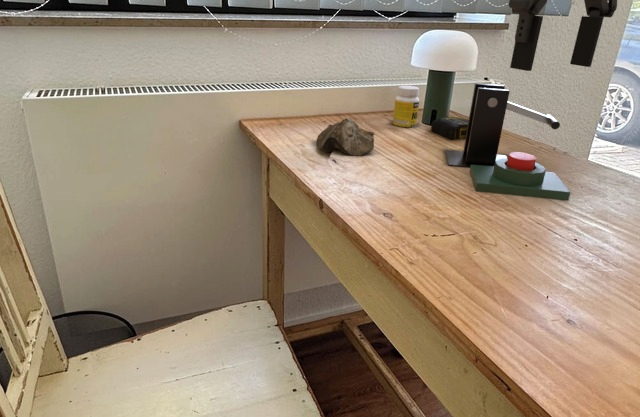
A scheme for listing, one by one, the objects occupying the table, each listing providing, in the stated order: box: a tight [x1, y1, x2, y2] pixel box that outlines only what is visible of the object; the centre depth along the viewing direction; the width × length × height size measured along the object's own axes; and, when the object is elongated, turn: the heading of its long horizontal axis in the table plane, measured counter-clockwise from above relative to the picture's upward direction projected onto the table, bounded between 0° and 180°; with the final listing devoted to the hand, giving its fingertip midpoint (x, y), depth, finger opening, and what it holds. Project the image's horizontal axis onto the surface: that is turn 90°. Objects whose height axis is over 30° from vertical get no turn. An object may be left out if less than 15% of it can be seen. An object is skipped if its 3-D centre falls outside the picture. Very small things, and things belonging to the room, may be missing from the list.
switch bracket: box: [444, 82, 511, 169], centre depth 77 cm, size 10×8×13 cm
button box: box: [469, 157, 571, 201], centre depth 69 cm, size 12×8×4 cm, turn 80°
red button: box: [506, 151, 537, 171], centre depth 68 cm, size 4×4×2 cm
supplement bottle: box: [392, 85, 420, 129], centre depth 97 cm, size 5×5×8 cm
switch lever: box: [483, 87, 561, 130], centre depth 75 cm, size 12×5×2 cm, turn 80°
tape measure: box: [430, 116, 469, 141], centre depth 93 cm, size 7×7×4 cm
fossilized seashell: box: [315, 117, 375, 157], centre depth 82 cm, size 8×7×10 cm
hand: (551, 67), depth 67 cm, fingers open, 13 cm apart
